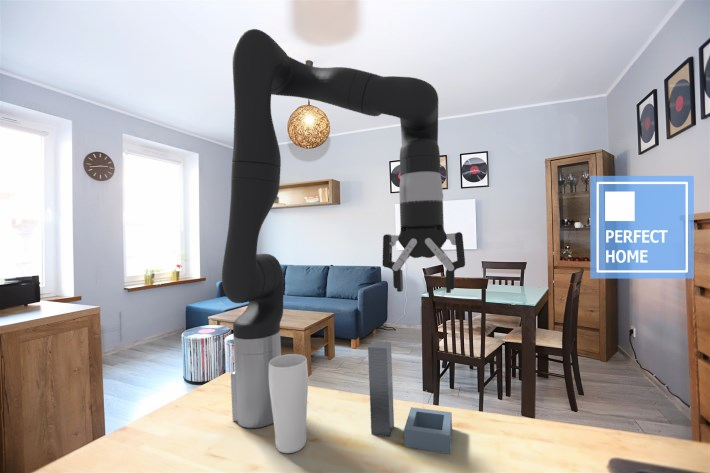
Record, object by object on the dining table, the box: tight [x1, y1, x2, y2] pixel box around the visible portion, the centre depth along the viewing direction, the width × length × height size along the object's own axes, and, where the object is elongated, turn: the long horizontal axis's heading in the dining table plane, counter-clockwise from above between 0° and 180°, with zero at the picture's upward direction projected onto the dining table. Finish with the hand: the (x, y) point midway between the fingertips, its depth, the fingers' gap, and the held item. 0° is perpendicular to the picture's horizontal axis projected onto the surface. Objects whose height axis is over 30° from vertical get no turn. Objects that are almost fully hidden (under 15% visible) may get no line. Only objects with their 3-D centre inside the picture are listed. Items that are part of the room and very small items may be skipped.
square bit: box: [367, 340, 395, 438], centre depth 63 cm, size 4×4×16 cm
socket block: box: [403, 406, 453, 455], centre depth 60 cm, size 8×8×3 cm
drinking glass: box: [268, 353, 309, 454], centre depth 59 cm, size 7×7×15 cm
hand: (424, 291), depth 60 cm, fingers open, 8 cm apart
